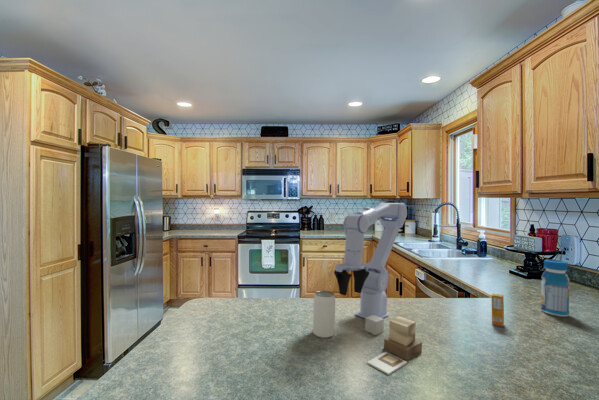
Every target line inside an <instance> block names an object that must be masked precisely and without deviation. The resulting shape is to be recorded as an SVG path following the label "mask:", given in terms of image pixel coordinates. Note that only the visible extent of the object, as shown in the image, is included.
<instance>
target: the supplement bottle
mask: <svg viewBox="0 0 599 400" xmlns="http://www.w3.org/2000/svg"><path fill="white" fill-rule="evenodd" d="M568 266H569V265H568V262H567V261H564V260H558V259H557V260H556V259H544V260H543V267H544V269H545V270H544V271H543V272H542V274H541V281H540V287H541V296H540V297H541V302H540V303H541V304H540V310H541V311H542V312H543V313H545V314H547V315H551V316H556V317H569V316H570V290H571V285H570V282H571V280H570V278H569V277H570V276H569V275H568V274H567V273H566V272H568Z"/></svg>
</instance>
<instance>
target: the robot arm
mask: <svg viewBox="0 0 599 400" xmlns="http://www.w3.org/2000/svg"><path fill="white" fill-rule="evenodd" d="M407 208H408V207H407V205H406V203H404V202H383V201H382V202H378V204H377V206H375V207H374V208H371V207H370V206H369V207H368V206H366V207H364V208H363V209H362V210H358V211H357V212H356V213H355V214H354V213H350V214H348V215H346V216H345V218H344V220H343V222H342V223H343V227H344V235H345V246H344V258H343V263H339V264H335V270H334V271H333V274H334V275H335V278H336V280H337V284H338V292H339V294H340V295H342V296H347V293H348V290H349V289H348V288H349V283H350V280H351V277H352V275H353V280H354V283H353V289H354V290H353V291H354V293H358V294H360V305H359V307H360V309H359V311H357V312H355V313H354V314H355V315H356V316H358V317H361V318H363V319H365V318H366V317H369V316H371V315H375V316H378V317H380V318H383V319H384V318H386V317H389V316H390V314H389V313H387V312H388V310H387V308H388V296H387V294H386V290H387V288H388V283H389V278H390V274H389V272H388V270H387V269H386V268H385V267H386V264H387V262H388V259H389V256H390V254H391V252H392V250H393V248H394V247H393V246H394V244H395V241H396V238H397V236H398V233H399V231H400V229H401V228H403V226H404V223H405V222H406V220H407V219H406V218H407V216H408V209H407ZM378 219H379V222H380V225H381V226H382V227H384V228H383V231H382V234H381V236H380V238H379V240H378V242H377V245H376V248H375V250H374V252H373V255H372V257H371V259H370V261H369V262H366V263H363V256H364V255H363V254H364V242H365V233H366V232H367V231H368V230H369V227H371V226H373V224H375V223H377V221H378ZM348 272H352V273H348ZM355 315H354V316H355Z"/></svg>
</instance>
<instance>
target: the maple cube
mask: <svg viewBox="0 0 599 400" xmlns="http://www.w3.org/2000/svg"><path fill="white" fill-rule="evenodd" d="M388 323H389V327H388V329H389V330H388V331H389V333H388V337H389V339H390V340H393V341H395V342H398V343H400V344H402V345H405V346H407V345H409V344H410V343H412V342H413V341H415V340H416V330H417V329H416V328H417V327H416V325H417V324H416V321H413V320H410V319H408V318H405V317H402V316H399V315H398V316H396V317H395V318H392V319H390V320H389V322H388Z"/></svg>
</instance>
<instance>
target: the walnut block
mask: <svg viewBox="0 0 599 400" xmlns="http://www.w3.org/2000/svg"><path fill="white" fill-rule="evenodd" d="M383 349H385V350H386V351H388V352H391V353H393V354H395V355H396V356H398V357H399V358H403V359H404V360H405V361H406V360H407V361H408V360H410V359H411V358H414V357H415V356H417V355H420V354H421V353H422V351H423V342H422V341H420V340H418V339H415V341H413V342H412V343H410V344H409V345H407V346H405V345H402V344H400V343H398V342H395V341H393V340H390V339H389V336H387V337H385V338H384V339H383Z"/></svg>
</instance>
